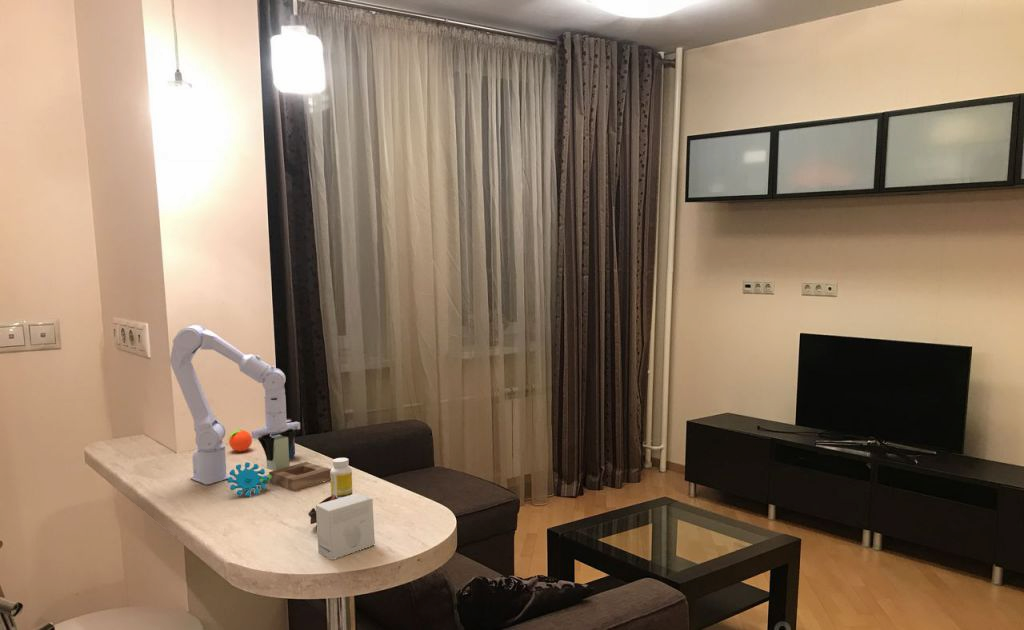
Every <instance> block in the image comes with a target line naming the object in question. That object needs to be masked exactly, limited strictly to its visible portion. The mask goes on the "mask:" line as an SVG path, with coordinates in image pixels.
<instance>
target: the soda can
mask: <svg viewBox="0 0 1024 630" xmlns="http://www.w3.org/2000/svg"><path fill="white" fill-rule="evenodd" d="M286 420H287V423H292V421H293V419H292V418H286ZM293 431H295V429H294V430H293ZM276 435H280V434H279V433H277V434H272V435H270V436H271V437H272V436H276ZM295 443H296V442H295V438H294V439H293V441H292V443H291V447H290V451H289V461H291V460H292V459H293V458H294V457H295V455H296V447H295V446H296V444H295Z"/></svg>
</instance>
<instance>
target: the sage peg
mask: <svg viewBox="0 0 1024 630" xmlns="http://www.w3.org/2000/svg"><path fill="white" fill-rule="evenodd" d="M272 438H274V444H273V460H272V461H269V460H267V458H266V469H268V470H270V471H274V470H278V469H282V468H285V467H289V466H290V460H289V446H288V437H286V436H282V435H276V436H272Z"/></svg>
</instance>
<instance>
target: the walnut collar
mask: <svg viewBox="0 0 1024 630" xmlns="http://www.w3.org/2000/svg"><path fill="white" fill-rule="evenodd" d="M331 469H332V468H328V467H325V466H322V465H318V464H316V463H315V464H314V463H311V462H308V461H304V462H302V463H301V462H300V463H297V464H293V465H289V467H285V468H282V469H278V470H274V471H273V470H270V471H269V472H268V475H271V476H272V477H271V480H269V481H268V483H270V484H273V485H276V486H279V487H282V488H284V489H287V490H290V491H293V492H296V491H298V490H302V489H305V487H306V488H308V486H309V487H311V485H312V486H315V485H318V484H317V483H319V484H321V483H320V482H322V483H324V482H323V481H325V482H327V481H326V480H328V481H331V480H330V479H331V475H330V471H331ZM314 484H315V485H314Z"/></svg>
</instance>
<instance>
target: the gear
mask: <svg viewBox="0 0 1024 630" xmlns="http://www.w3.org/2000/svg"><path fill="white" fill-rule="evenodd" d="M250 465H251V463H250V462H247V461H245V464H244V469H243V470H241V469H242V464H237V465H236V466H235V469H236V470H235V469H231V470H230V471H229V472H228V474H229V475H231V476H233V477H234V478H235V479H234V478H232V477H229V478H228V479H227V483H228V484H230V483H231V485H230V486H229V488H230V490H231V491H235V490H236V489H238V490H237V491H236V492H235V493H236V496H237V495H238V497H240V496H242V494H243V492H245V491H246V490H247V491H246V493H245V495H244V496H245V497H247V498H251V496H252V490H253V489H254V493H253V494H254V495H259V494H260V492H261V490H265V488H267V487H266V486H267V484H268V483H269V480H271V477H272V476H271V475H269V474H268V475H265V473H266V471H265V469H264V468H261V469H259V466H260V465H259V464H257V463H254V464H253V466H252V467H251V466H250ZM250 467H251V468H250ZM236 471H237V472H238V473H237V474H236ZM235 484H237V485H235ZM258 486H259V487H260V489H259V488H258Z"/></svg>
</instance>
